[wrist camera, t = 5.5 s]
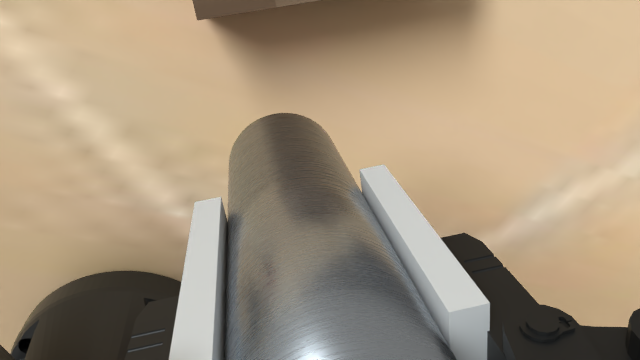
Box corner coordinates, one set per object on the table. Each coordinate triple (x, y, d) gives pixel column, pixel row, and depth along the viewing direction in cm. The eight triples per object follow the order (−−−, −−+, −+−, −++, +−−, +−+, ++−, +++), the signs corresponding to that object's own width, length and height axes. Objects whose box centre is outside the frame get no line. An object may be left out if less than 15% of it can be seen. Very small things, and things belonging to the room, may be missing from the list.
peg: (342, 201, 20) (581, 712, 6) (241, 222, 19) (259, 813, 6) (329, 103, 18) (620, 517, 4) (217, 124, 18) (165, 645, 4)
